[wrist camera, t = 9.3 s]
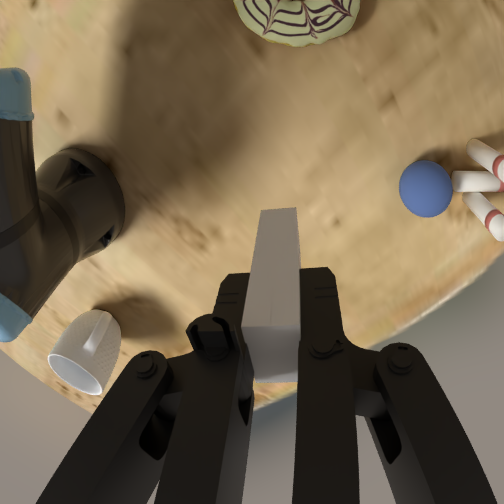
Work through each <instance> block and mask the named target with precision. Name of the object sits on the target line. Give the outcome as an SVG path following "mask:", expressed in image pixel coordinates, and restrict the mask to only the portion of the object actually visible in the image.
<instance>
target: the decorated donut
mask: <svg viewBox="0 0 504 504" xmlns="http://www.w3.org/2000/svg"><path fill="white" fill-rule="evenodd" d="M233 2H234V6H235V9H236V11H237V12H238V14H239V17H240V18H241V20H242V21H243V23H244V24H245V25H246V27H247V28H249V29H250V30H252V31H253V32H255V33H256V34H258V35H259V36H260V37H261V38H263V39H265V40H267V41H269V42H272V43H280V44H285V45H287V46H292V47H306V46H309V45H314V44H322V43H324V42H326V41H327V40H329V39H332V38H335V37H338V36H341V35H343V34H345V33H346V32H348V31H349V30H350V29H351V27H352V26H353V24H354V22H355V20H356V17H357V14H358V12H359V9H360V0H304V1H298V0H297V1H290V0H233Z"/></svg>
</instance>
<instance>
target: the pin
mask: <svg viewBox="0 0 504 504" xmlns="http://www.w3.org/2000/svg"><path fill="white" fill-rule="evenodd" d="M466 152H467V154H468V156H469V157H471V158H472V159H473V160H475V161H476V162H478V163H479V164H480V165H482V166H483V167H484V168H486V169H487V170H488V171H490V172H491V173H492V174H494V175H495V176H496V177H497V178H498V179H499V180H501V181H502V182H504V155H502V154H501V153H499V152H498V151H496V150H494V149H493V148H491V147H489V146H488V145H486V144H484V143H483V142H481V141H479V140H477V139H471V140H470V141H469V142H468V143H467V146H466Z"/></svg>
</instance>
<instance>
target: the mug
mask: <svg viewBox="0 0 504 504" xmlns="http://www.w3.org/2000/svg"><path fill="white" fill-rule="evenodd" d="M120 346H121V330H120V326H119V324H118V322H117V321H116V320H115V319H114V318H113V317H112V315H111V314H110V313H108V312H106V311H102V310H97V309H95V310H90V311H87V312H85V313H83V314H81V315H80V316H78V317H77V318H76V319H75V320H74V321H73V322H72V323H70V325H69V326H68V327H67V328H66V329H65V331H64V332H63V333H62V335H61V336H60V337H59V339H58V341H57V342H56V343H55V345H54V347H53V349H52V350H51V352H50V354H49V355H48V362H49V365H50V367H51V368H52V369H53V371H54V372H55V373H56V374H57V375H58V376H59V377H60V378H61V379H63V380H64V381H65V382H66V383H68V384H69V385H71V386H73V387H74V388H76V389H78V390H80V391H82V392H85V393H87V394H91V395H100V394H101V393H102V392H103V390H104V388H105V386H106V384H107V382H108V380H109V378H110V376H111V374H112V371H113V369H114V367H115V364H116V361H117V359H118V355H119V351H120Z"/></svg>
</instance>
